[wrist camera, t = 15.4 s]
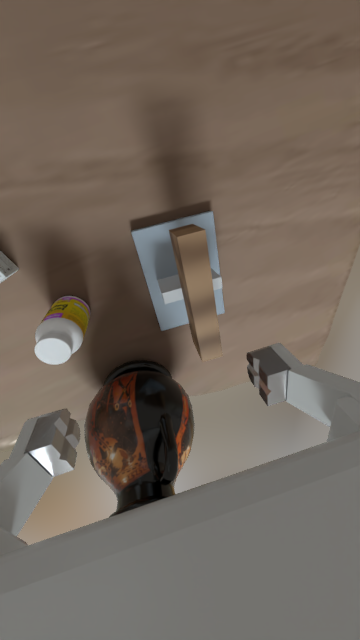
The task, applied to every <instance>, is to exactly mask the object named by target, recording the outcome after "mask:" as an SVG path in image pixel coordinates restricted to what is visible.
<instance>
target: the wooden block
mask: <svg viewBox="0 0 360 640" xmlns="http://www.w3.org/2000/svg"><path fill="white" fill-rule="evenodd" d="M169 234H170V238H171V243H172V247H173V252H174V256H175V261H176V266H177V270H178V275H179V279H180V284H181V288H182V293H183V297H184V302H185V307H186V311H187V316H188V320H189V325H190V329H191V334H192V339H193V342H194V345H195V347H196V349H197V351H198V353H199V356H200V358H201V360H202V362H205V361H208V360H211V359H215V358H218V357H221V356H223V354H222V347H221V340H220V332H219V325H218V318H217V311H216V303H215V296H214V289H213V282H212V274H211V267H210V260H209V253H208V245H207V238H206V231H205V229H203V228H201V227H199V226H196V225H194V224H190V225H186V226H182V227H178V228H174V229H170V230H169Z"/></svg>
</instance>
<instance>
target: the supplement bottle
mask: <svg viewBox="0 0 360 640" xmlns="http://www.w3.org/2000/svg"><path fill="white" fill-rule="evenodd" d="M89 319H90V309H89V306H88V305H87V304H86V303H85V302H84V301H83V300H82V299H80V298H78V297H75V296H64V297H61V298H59V299H58V300H56V301H55V302H54V304H53V305H52V307H51V308H50V310H49V311H48V313H47V314H46V316H45V317H44V319H43V320H42V322H41V323H40V325H39V326H38V328H37V330H36V333H35V339H36V342H37V344H36V346H35V354H36V356H37V357H38V358H39V359H40V360H41V361H43V362H45V363H48V364H61V363H64V362H66V361H67V360H68V359H69V358H70V356H71V354H72V353H74V352H76V351H77V350H78V349H79V348H80V346H81V345H82V342H83V339H84V335H85V332H86V329H87V325H88V322H89Z"/></svg>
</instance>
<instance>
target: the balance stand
mask: <svg viewBox="0 0 360 640" xmlns="http://www.w3.org/2000/svg"><path fill="white" fill-rule="evenodd" d="M190 224H194V225H196V226H199V227H201V228H203V229H205V231H206V238H207V245H208V253H209V260H210V267H211V274H212V282H213V289H214V296H215V303H216V311H217V315H219V314H222V313H225V312H224V303H223V295H222V279H221V276H220V269H219V260H218V252H217V243H216V235H215V226H214V217H213V211H207V212H203V213H199V214H195V215H192V216H188V217H184V218H180V219H176V220H172V221H168V222H164V223H160V224H156V225H152V226H148V227H144V228H141V229H137V230H133V231H131V233H132V236H133V239H134V242H135V246H136V249H137V252H138V256H139V259H140V262H141V266H142V269H143V272H144V276H145V279H146V282H147V285H148V289H149V292H150V295H151V299H152V302H153V305H154V309H155V312H156V315H157V319H158V322H159V325H160V328H161V331H164V330H167V329H171V328H174V327H177V326H181V325H184V324H188V323H189V320H188V316H187V311H186V307H185V302H184V297H183V293H182V288H181V284H180V279H179V275H178V270H177V266H176V261H175V256H174V252H173V247H172V243H171V238H170V234H169V230H170V229H174V228H178V227H182V226H186V225H190Z"/></svg>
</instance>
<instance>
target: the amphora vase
mask: <svg viewBox="0 0 360 640" xmlns="http://www.w3.org/2000/svg"><path fill="white" fill-rule="evenodd" d="M193 435H194V417H193V410H192V405H191V402H190V400H189V397H188V395H187V393H186V392H185V390H184V389H183V388H182V386H181V385H180V384H179V383H178V382H176V381H175V380H174V379H172V376H171V375H170V373H169V372H168V370H167V369H165V368H164V367H163V366H162V365H159V364H157V363H155V362H150V361H133V362H129V363H125V364H123V365H121V366H119V367H117V368H116V369H115V370H113V371H112V372H111V373H110V374H109V375H108V377H107V378H106V380H105V383H104V386H103V387H102V388H101V389H100V390H99V392H98V393H97V394H96V396H95V397H94V399H93V400H92V402H91V403H90V405H89V409H88V412H87V416H86V421H85V442H86V449H87V453H88V457H89V460H90V462H91V465H92V466H93V468H94V470H95V471H96V473H97V474H98V476H99V477H100V478H101V479H102V480H103V481H104V482H105V483H106V484H107V485H108V486H109V487H110V488H111V489H112V490H113V491H114V493H115V494H116V497H117V500H118V504H117V510H116V512H114V513H113V514H112V515H111V516H110V517H112V516H115V515H118V514H121V513H124V512H126V511H129V510H132V509H135V508H138V507H141V506H144V505H147V504H149V503H152V502H155V501H158V500H161V499H164V498H167V497H170V496H172V495H175V492H174V484H175V481H176V478H177V476H178V474H179V472H180V470H181V468H182V467H183V465H184V463H185V461H186V460H187V458H188V456H189V453H190V450H191V445H192V441H193Z"/></svg>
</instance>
